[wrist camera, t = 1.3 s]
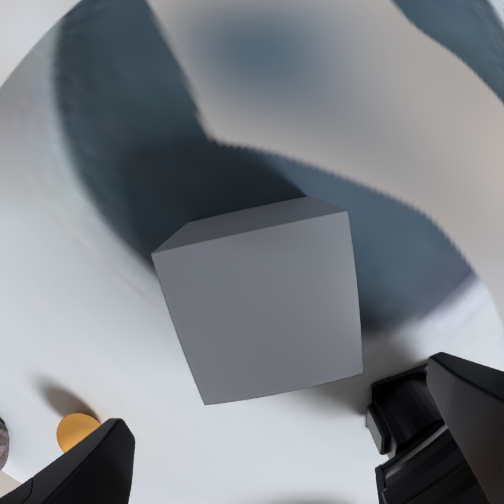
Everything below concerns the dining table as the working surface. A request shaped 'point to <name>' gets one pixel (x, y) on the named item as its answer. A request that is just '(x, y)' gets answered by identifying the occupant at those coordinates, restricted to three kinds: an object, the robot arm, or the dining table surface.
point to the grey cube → (264, 299)
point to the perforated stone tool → (3, 445)
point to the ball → (75, 429)
